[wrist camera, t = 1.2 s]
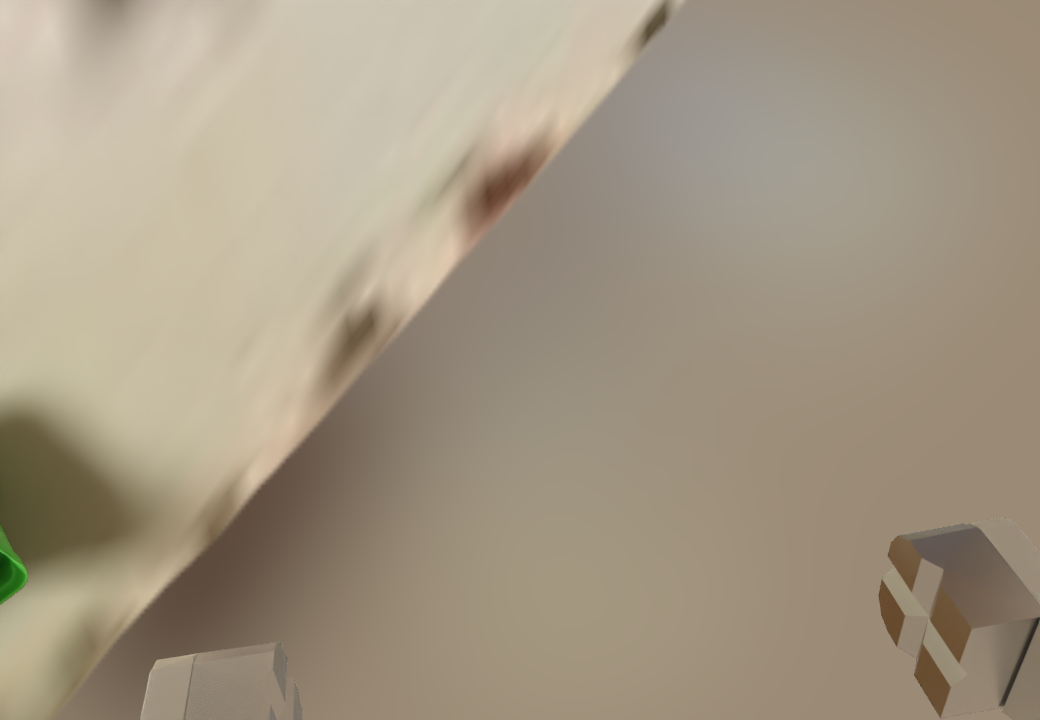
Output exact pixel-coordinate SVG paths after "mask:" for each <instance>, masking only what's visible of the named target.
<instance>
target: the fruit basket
mask: <svg viewBox="0 0 1040 720" xmlns="http://www.w3.org/2000/svg"><path fill="white" fill-rule="evenodd" d="M27 580H28V572H27V569H26V568H25V566H24V564H23V562H22V561H21V559H20V558H19V556H18V555H17V554H15V553H14V551H13V549H12V547H11V545H10V543H9V541H8V539H7V537H6V535H5V533H4V531H3V528H2V526H1V524H0V605H1V604H2V603H3V602H4V601H6V600H7V599H9V598H10V597H12V596H13V595H14V594H15V593H17V592H18V591H19V590H21V589H22V588H23V587H24V585H25V584H26V582H27Z"/></svg>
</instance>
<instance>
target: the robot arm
mask: <svg viewBox="0 0 1040 720" xmlns="http://www.w3.org/2000/svg"><path fill="white" fill-rule="evenodd" d="M888 557H889V559H890V560H891V562H892V563H893V565H894V567H893V568H892V569H891V570H890V571H889V572H888V573H887V574H886V575H885V576H884V577H883V578H882V580H881V585H880V591H879V602H880V609H881V615H882V618H883V620H884V623H885V626H886V628H887V631H888V633H889V634H890V636H891V638H892V640H893V641H894V643H895V645H896V646H897V647H898V648H899V649H901V650H903V651H904V652H906V653H908V654H909V655H911V656H912V657H914V658H916V665H915V672H914V676H915V678H916V679H917V681H918V683H919V684H920V686H921V687H922V689H923V691H924V693H925V694H926V696H927V697H928V699H929V701H930V702H931V704H932V706H933V707H934V709H935V710H936V712H937V714H938V715H939V717H940V718H946V717H953V716H958V715H965V714H971V713H977V712H984V711H990V710H995V709H1002V708H1003V711H1002V712H1003V713H1004V714H1005V715H1007V716H1008V717H1010V718H1011V719H1012V720H1040V552H1039V551H1038V549H1037V548H1036V547H1035V546H1034V545H1033V544H1032V542H1030V540H1029V539H1028V538H1027V537H1026V536H1025V534H1024V533H1023V532H1022V531H1021V530H1020V528H1019V527H1018V526H1017V525H1016V524H1015V523H1014V522H1012V521H1010V520H1009V519H1007V518H999V519H993V520H987V521H981V522H975V523H969V524H959V525H953V526H948V527H943V528H937V529H933V530H926V531H921V532H915V533H910V534H905V535H899V536H897V537H896V538H895V539H894V540H893V541H892V542H891V545H890V549H889V552H888ZM286 674H287V656H286V654H285V651H284V648H283V646H282V643H281V642H275V643H268V644H261V645H254V646H247V647H240V648H233V649H227V650H219V651H212V652H205V653H198V654H192V655H186V656H180V657H174V658H167V659H161V660H157V661H156V663H155V665H154V666H153V668H152V670H151V672H150V674H149V679H148V684H147V689H146V694H145V699H144V704H143V709H142V713H141V719H140V720H302V708H301V703H300V698H299V692H298V689H297V686H296V683H295V680H293V679H291V678H290V677H288V676H287V675H286Z"/></svg>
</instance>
